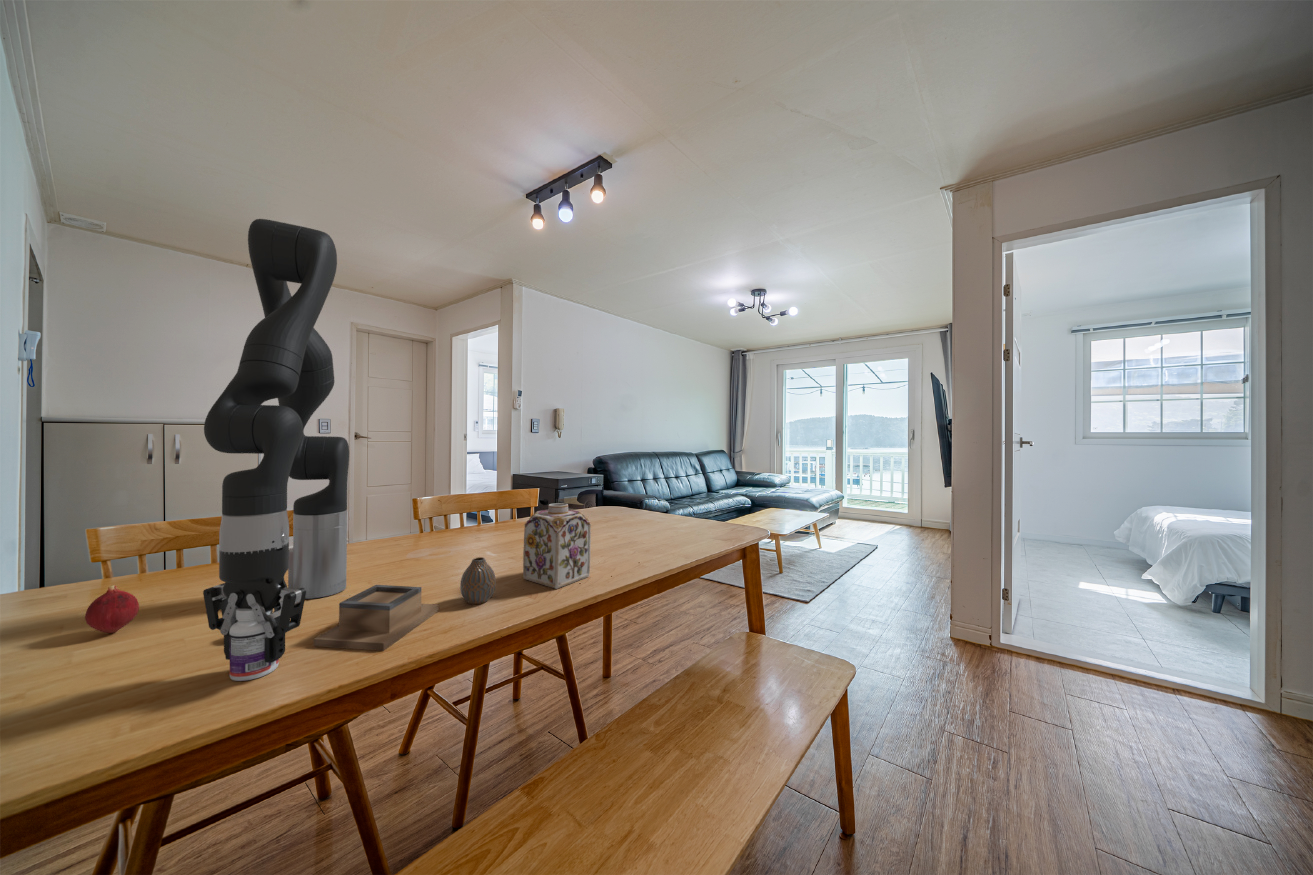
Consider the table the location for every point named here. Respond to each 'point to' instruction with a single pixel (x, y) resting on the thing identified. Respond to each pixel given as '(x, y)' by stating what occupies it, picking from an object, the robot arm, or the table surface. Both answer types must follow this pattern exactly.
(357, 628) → the display stand
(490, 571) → the vase
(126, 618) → the onion
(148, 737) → the table surface
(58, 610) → the table surface
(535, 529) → the decorative jar
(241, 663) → the pill bottle
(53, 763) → the table surface
